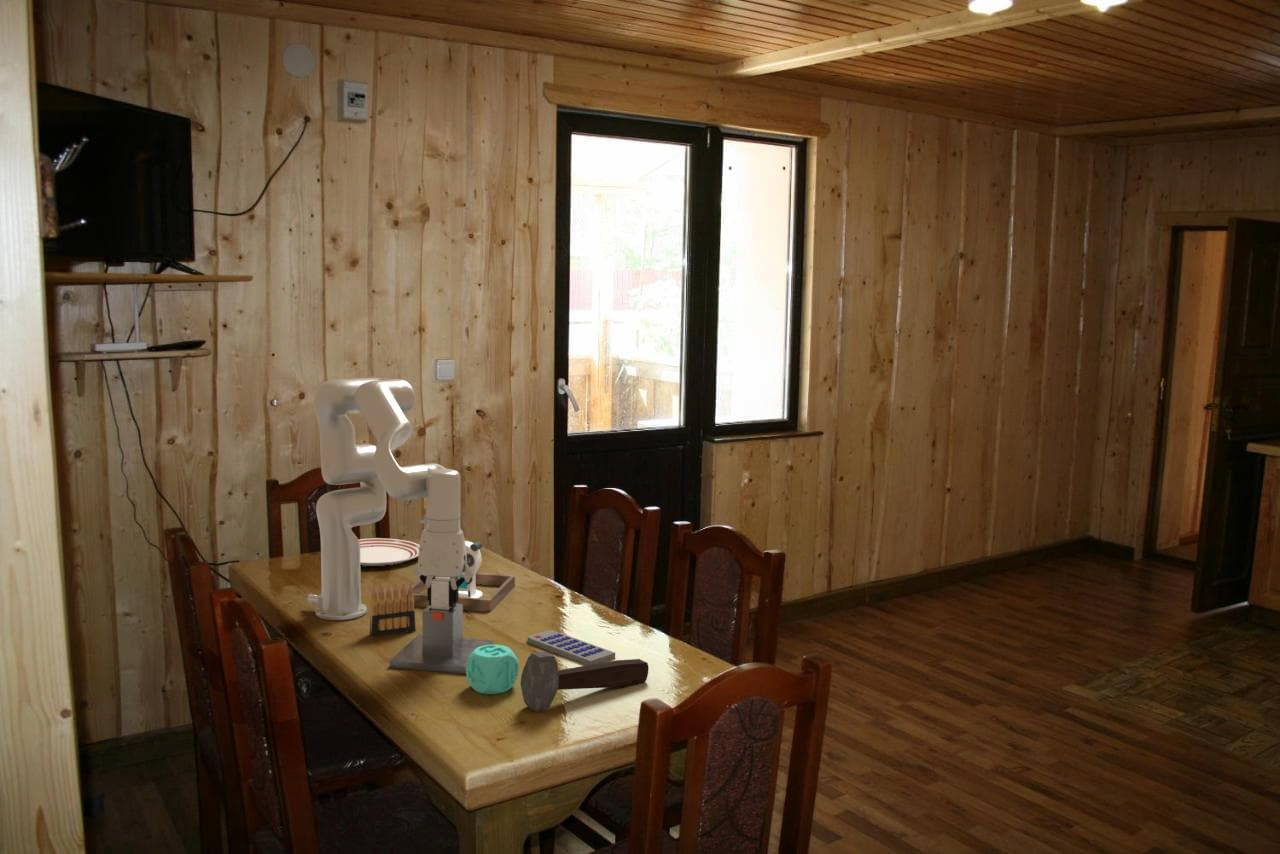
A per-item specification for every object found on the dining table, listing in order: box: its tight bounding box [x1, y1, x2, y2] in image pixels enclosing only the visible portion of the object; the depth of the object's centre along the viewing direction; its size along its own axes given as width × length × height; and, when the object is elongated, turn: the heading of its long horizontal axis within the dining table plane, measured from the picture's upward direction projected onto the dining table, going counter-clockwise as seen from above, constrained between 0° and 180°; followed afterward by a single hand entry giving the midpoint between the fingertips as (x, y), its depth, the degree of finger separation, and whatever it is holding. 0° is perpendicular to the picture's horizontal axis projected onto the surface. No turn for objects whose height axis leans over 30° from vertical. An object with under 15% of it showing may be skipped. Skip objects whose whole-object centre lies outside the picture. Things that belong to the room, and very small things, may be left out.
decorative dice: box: [465, 644, 520, 695], centre depth 220 cm, size 8×8×8 cm
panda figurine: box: [458, 540, 484, 599], centre depth 284 cm, size 12×11×15 cm
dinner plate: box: [358, 537, 420, 567], centre depth 319 cm, size 28×27×3 cm
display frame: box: [406, 572, 516, 612], centre depth 284 cm, size 24×24×3 cm
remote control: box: [527, 630, 616, 666], centre depth 245 cm, size 8×23×2 cm, turn 47°
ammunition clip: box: [369, 582, 416, 637], centre depth 252 cm, size 11×2×12 cm, turn 118°
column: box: [431, 577, 454, 612], centre depth 237 cm, size 4×4×16 cm
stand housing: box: [389, 603, 494, 675], centre depth 237 cm, size 18×18×12 cm
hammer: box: [519, 651, 650, 713], centre depth 218 cm, size 5×11×30 cm
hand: (442, 603), depth 236 cm, fingers closed on column, 4 cm apart
